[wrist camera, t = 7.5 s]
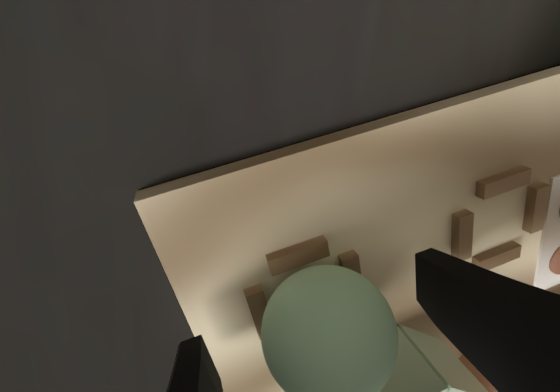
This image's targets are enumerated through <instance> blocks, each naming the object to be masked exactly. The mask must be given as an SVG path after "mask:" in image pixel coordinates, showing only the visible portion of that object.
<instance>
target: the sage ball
mask: <svg viewBox="0 0 560 392" xmlns="http://www.w3.org/2000/svg"><path fill="white" fill-rule="evenodd" d="M261 345H262V350H263V354H264V358H265V361H266V364H267V366H268V368H269V370H270V372H271V374H272V376H273V377H274V379H275V380H276V382H277V383H278V384H279V386H280V387H281V388H282V389H283V390H284V391H285V392H380V391H381V390H382V388H383V387H384V386H385V384H386V383H387V382H388V380H389V378H390V376H391V374H392V372H393V369H394V367H395V364H396V360H397V354H398V331H397V325H396V321H395V318H394V315H393V312H392V309H391V307H390V306H389V304H388V302H387V300H386V298H385V297H384V296H383V294H382V293H381V292H380V291H379V289H378V288H377V287H376V286H375V285H374V284H373V283H372V282H371V281H369V280H368V279H367V278H365V277H364V276H362V275H361V274H359V273H357V272H355V271H353V270H351V269H348V268H345V267H341V266H336V265H316V266H311V267H307V268H304V269H302V270H300V271H298V272H296V273H294V274H292V275H291V276H289V277H288V278H287V279H285V280H284V281H283V282H282V283H281V284H280V285H279V286H278V287H277V289H276V290H275V291H274V293H273V294H272V296H271V298H270V299H269V301H268V303H267V306H266V308H265V311H264V315H263V318H262V326H261Z"/></svg>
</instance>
